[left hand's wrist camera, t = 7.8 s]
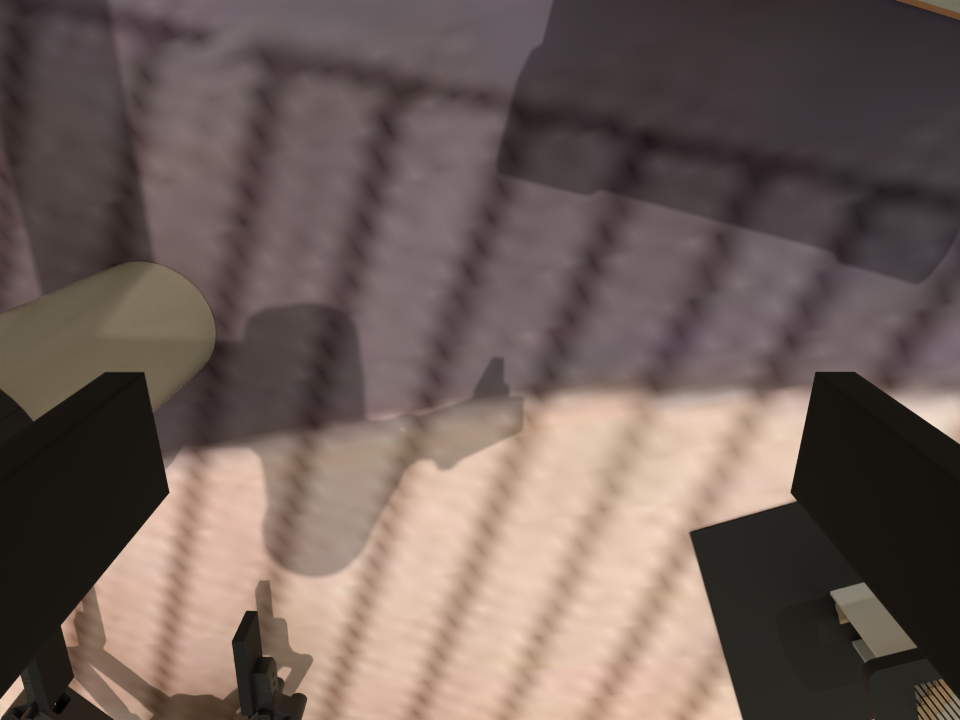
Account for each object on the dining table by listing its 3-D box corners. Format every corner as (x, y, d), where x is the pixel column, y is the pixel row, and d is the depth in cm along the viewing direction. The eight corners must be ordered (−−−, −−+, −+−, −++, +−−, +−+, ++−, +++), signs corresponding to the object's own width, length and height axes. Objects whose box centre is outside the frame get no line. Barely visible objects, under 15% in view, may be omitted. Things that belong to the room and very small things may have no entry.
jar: (61, 279, 40) (-272, 411, 22) (183, 246, 39) (-60, 356, 22) (120, 396, 43) (-132, 595, 25) (236, 367, 42) (59, 552, 25)
